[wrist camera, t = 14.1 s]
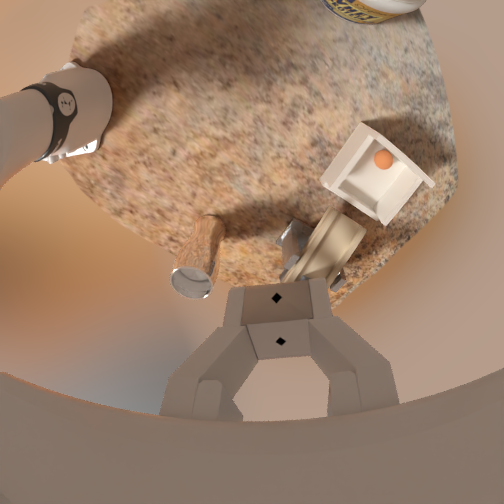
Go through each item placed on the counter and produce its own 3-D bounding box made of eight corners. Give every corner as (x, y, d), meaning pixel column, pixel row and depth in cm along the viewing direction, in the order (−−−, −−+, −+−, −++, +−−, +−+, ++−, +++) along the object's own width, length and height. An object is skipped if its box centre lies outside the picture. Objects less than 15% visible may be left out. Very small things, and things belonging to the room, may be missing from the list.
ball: (376, 173, 39) (390, 162, 36) (366, 156, 40) (379, 145, 37) (386, 173, 41) (399, 163, 38) (377, 157, 41) (389, 146, 39)
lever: (309, 292, 52) (334, 348, 38) (273, 276, 51) (289, 332, 36) (356, 221, 47) (402, 259, 33) (321, 199, 45) (360, 231, 31)
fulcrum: (325, 266, 55) (331, 298, 48) (276, 241, 52) (276, 272, 45) (343, 245, 52) (353, 276, 44) (293, 217, 49) (297, 246, 42)
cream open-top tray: (371, 213, 47) (387, 240, 40) (319, 178, 44) (329, 202, 37) (411, 163, 41) (435, 183, 33) (360, 121, 38) (380, 133, 31)
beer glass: (184, 220, 51) (158, 273, 39) (216, 207, 49) (198, 259, 37) (203, 249, 54) (184, 305, 42) (234, 237, 52) (223, 294, 40)
